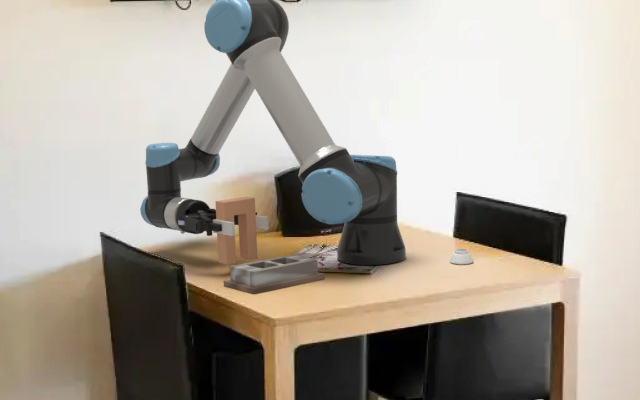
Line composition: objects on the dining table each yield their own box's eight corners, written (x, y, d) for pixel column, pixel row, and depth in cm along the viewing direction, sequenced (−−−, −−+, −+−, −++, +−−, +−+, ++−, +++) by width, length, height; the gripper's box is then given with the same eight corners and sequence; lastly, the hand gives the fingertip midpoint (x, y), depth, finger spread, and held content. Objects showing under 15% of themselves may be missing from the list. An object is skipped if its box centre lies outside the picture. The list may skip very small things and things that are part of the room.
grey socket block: (223, 285, 213) (223, 266, 212) (293, 271, 224) (293, 253, 224) (254, 294, 205) (253, 273, 205) (324, 278, 217) (324, 259, 216)
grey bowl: (445, 262, 230) (456, 266, 226) (445, 249, 230) (456, 252, 225) (466, 260, 232) (477, 264, 228) (465, 246, 232) (477, 250, 227)
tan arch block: (218, 262, 223) (215, 201, 222) (249, 256, 229) (246, 196, 227) (226, 264, 221) (223, 202, 219) (257, 258, 226) (254, 198, 224)
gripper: (227, 226, 245) (290, 237, 227) (149, 239, 231) (209, 251, 214) (226, 193, 244) (288, 202, 226) (147, 204, 230) (207, 214, 213)
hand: (250, 226), depth 220 cm, fingers closed on tan arch block, 8 cm apart
